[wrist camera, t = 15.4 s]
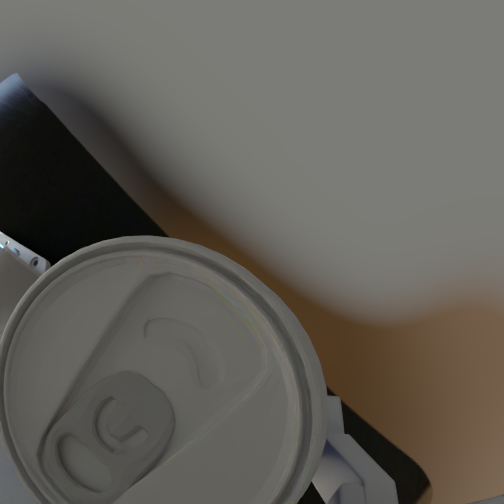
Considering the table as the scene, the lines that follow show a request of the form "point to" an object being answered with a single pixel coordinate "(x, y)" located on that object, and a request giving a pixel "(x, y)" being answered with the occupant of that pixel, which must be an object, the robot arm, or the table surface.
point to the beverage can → (159, 382)
